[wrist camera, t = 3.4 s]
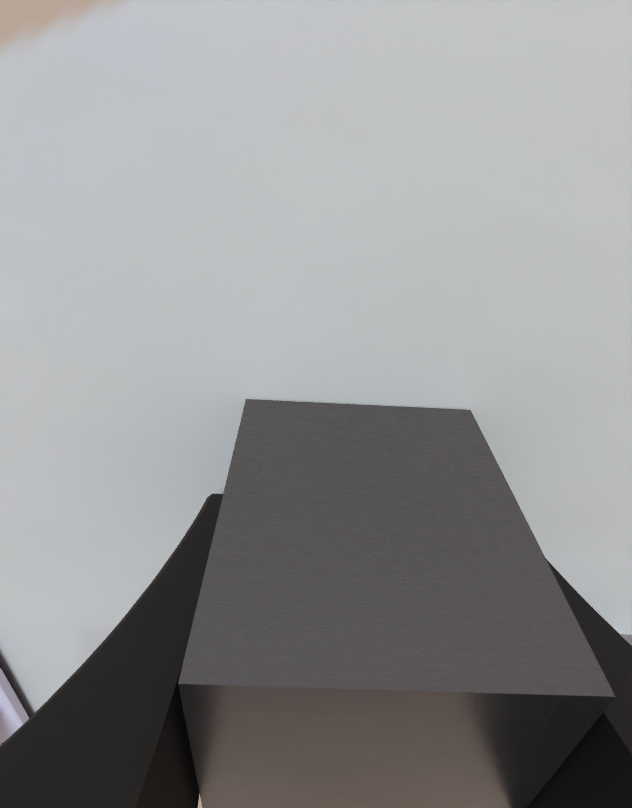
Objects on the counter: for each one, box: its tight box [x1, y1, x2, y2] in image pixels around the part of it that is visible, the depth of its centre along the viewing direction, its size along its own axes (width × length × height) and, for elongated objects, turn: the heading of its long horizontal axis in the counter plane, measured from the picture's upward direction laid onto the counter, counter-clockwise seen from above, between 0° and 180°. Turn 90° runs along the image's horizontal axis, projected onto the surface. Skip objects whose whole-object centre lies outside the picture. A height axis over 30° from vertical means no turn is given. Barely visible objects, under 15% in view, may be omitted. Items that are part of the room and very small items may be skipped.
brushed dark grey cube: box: [178, 399, 615, 808], centre depth 9 cm, size 5×5×6 cm
